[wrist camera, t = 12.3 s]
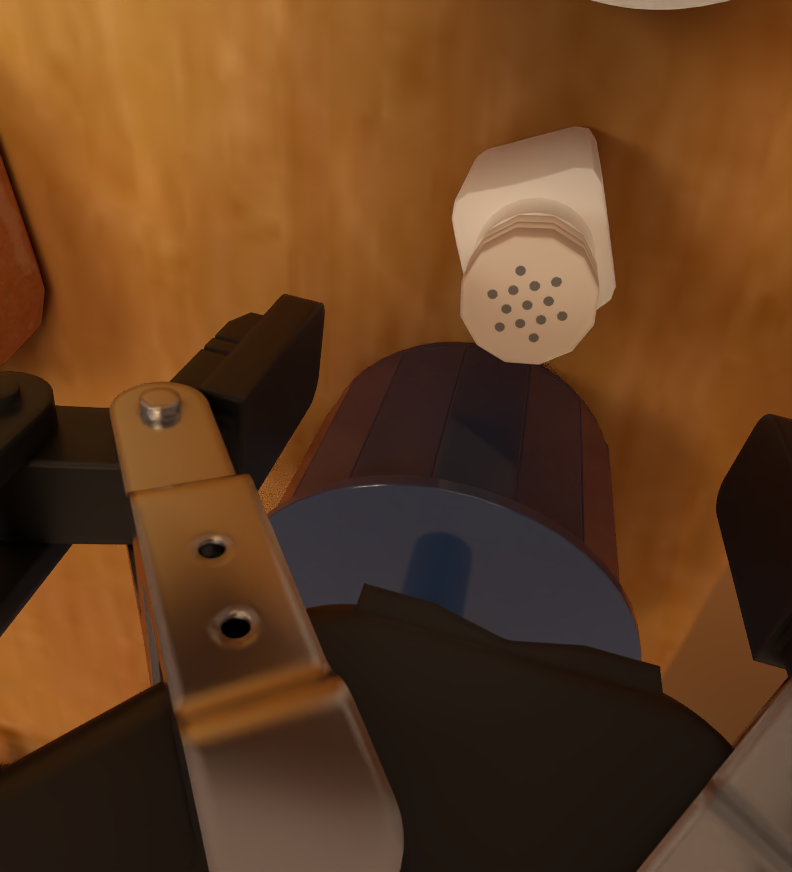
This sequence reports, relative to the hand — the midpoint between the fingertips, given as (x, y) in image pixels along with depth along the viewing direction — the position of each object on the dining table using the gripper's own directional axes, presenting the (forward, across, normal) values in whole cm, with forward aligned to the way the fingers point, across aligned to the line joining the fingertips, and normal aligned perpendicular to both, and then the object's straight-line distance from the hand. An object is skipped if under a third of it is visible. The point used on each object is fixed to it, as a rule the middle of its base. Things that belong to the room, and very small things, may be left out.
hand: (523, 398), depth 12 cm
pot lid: (+4, 0, +12) cm, 13 cm away
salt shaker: (+14, 0, 0) cm, 14 cm away
